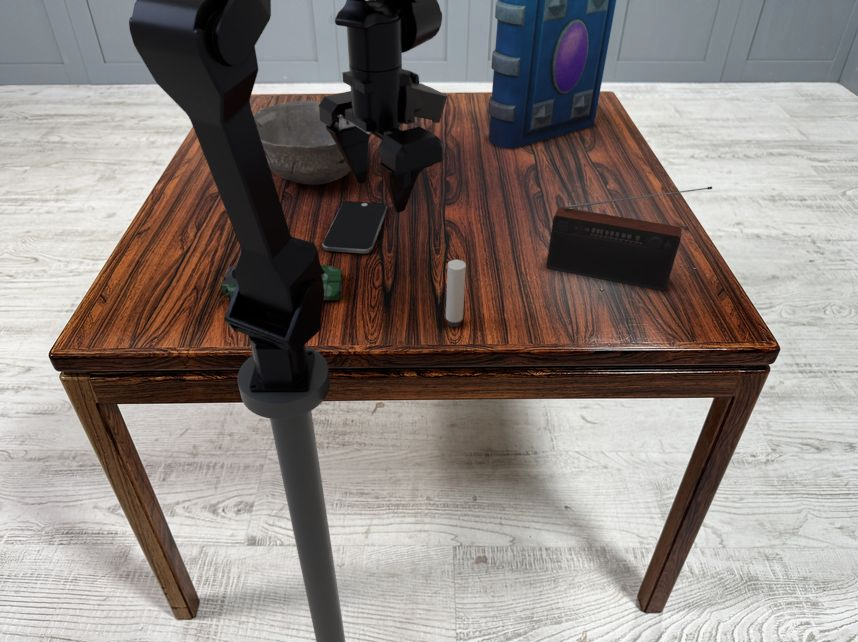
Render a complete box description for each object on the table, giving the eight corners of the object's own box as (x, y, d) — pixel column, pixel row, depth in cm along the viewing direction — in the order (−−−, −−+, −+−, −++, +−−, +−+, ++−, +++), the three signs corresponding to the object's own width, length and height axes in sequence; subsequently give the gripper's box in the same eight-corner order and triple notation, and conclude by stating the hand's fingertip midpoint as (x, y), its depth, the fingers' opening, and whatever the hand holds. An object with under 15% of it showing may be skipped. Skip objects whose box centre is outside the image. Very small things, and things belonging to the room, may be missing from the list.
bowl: (281, 214, 106) (273, 155, 100) (236, 168, 119) (226, 113, 113) (391, 183, 115) (389, 127, 108) (337, 143, 128) (333, 91, 121)
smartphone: (388, 203, 107) (371, 250, 96) (388, 207, 108) (371, 254, 96) (342, 200, 108) (319, 246, 97) (343, 204, 109) (320, 250, 97)
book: (507, 154, 124) (525, -26, 105) (479, 139, 130) (491, -36, 110) (598, 128, 134) (630, -41, 115) (569, 115, 140) (594, -49, 120)
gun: (345, 254, 94) (340, 294, 86) (346, 263, 95) (340, 303, 87) (232, 255, 94) (216, 295, 86) (234, 263, 95) (219, 304, 87)
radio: (545, 269, 94) (560, 171, 84) (549, 259, 96) (564, 162, 86) (680, 296, 89) (712, 194, 79) (681, 284, 91) (713, 184, 81)
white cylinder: (463, 328, 83) (466, 269, 77) (445, 329, 83) (448, 269, 77) (462, 318, 85) (465, 259, 79) (445, 318, 85) (447, 259, 79)
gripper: (487, 74, 68) (478, 209, 78) (393, 33, 80) (395, 155, 90) (397, 94, 63) (399, 235, 73) (311, 47, 75) (323, 174, 85)
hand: (380, 196), depth 81 cm, fingers open, 9 cm apart
